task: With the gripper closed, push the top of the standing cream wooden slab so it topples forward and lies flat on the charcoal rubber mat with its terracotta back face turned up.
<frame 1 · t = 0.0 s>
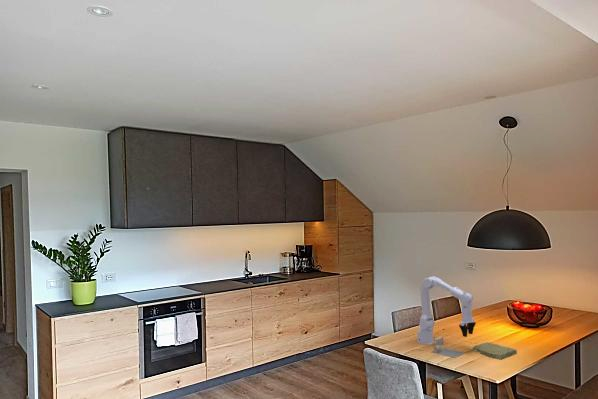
hand: (467, 335, 278), 10 cm above the table, tool pointing down, fingers open, 7 cm apart
decorative tile: (493, 353, 274), on the table
slab: (439, 351, 278), resting on mat
mat: (447, 353, 275), on the table
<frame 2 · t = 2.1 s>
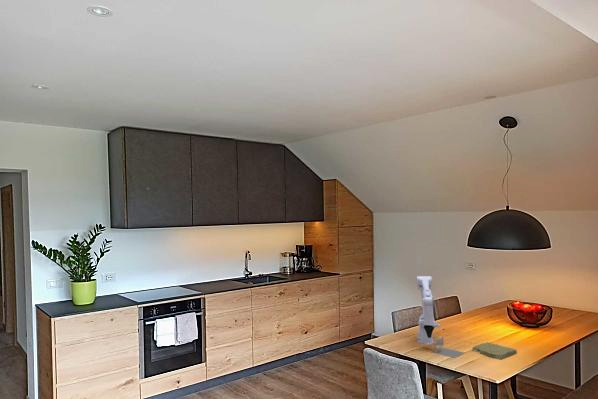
hand: (429, 337, 283), 8 cm above the table, tool pointing down, fingers closed
nothing on the table moved.
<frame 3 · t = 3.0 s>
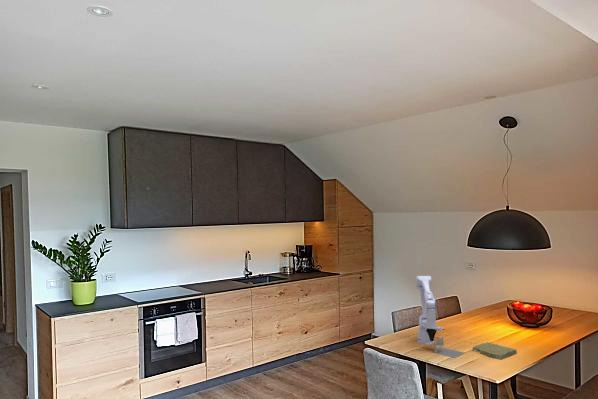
hand: (431, 340, 282), 6 cm above the table, tool pointing down, fingers closed
nothing on the table moved.
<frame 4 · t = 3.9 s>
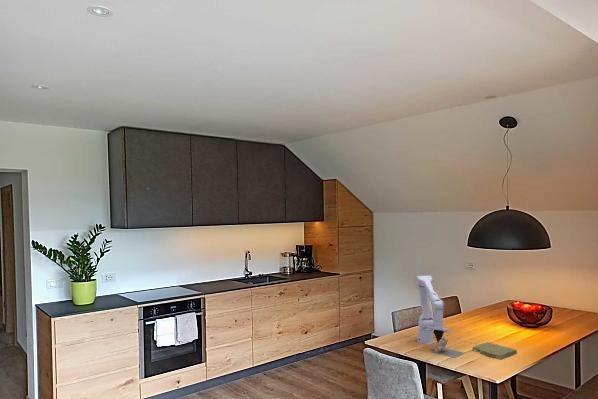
hand: (439, 342, 278), 6 cm above the table, tool pointing down, fingers closed
slab: (439, 350, 278), point 1 cm above the table, tilted 25°, touching mat
everything else where it was.
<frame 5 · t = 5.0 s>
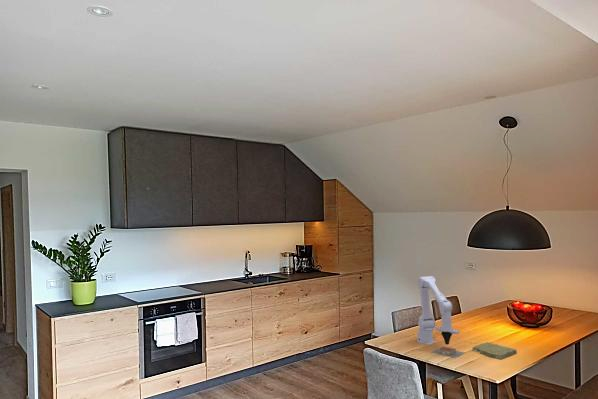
hand: (447, 344, 275), 6 cm above the table, tool pointing down, fingers closed
slab: (440, 349, 278), point 2 cm above the table, tilted 90°, touching mat
everything else where it was.
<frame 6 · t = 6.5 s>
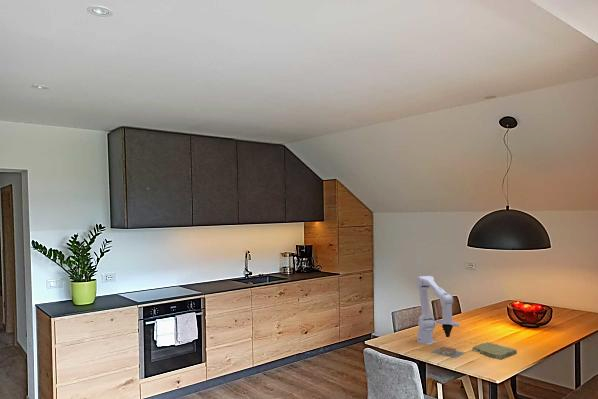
hand: (447, 336, 275), 10 cm above the table, tool pointing down, fingers closed
nothing on the table moved.
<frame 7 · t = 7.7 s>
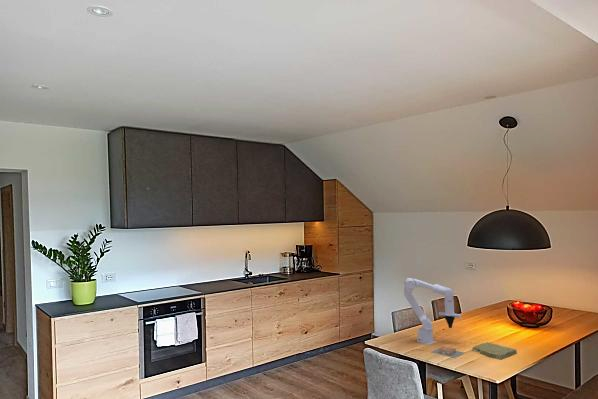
hand: (450, 327, 295), 10 cm above the table, tool pointing down, fingers closed
nothing on the table moved.
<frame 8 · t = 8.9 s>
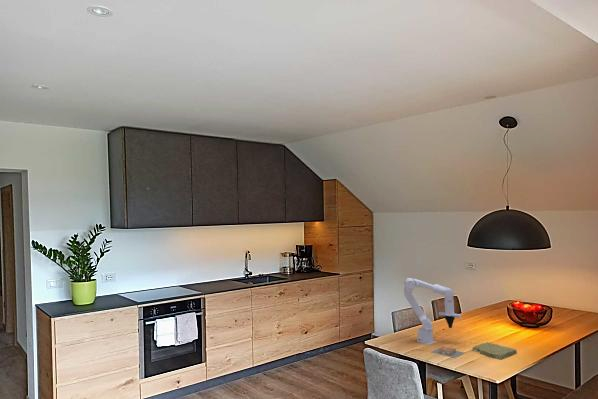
hand: (450, 327, 295), 10 cm above the table, tool pointing down, fingers closed
nothing on the table moved.
at the end: slab tilted 90°; slab inside the target area (4.0 cm from its centre), point 1.5 cm above the table; slab touching mat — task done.
